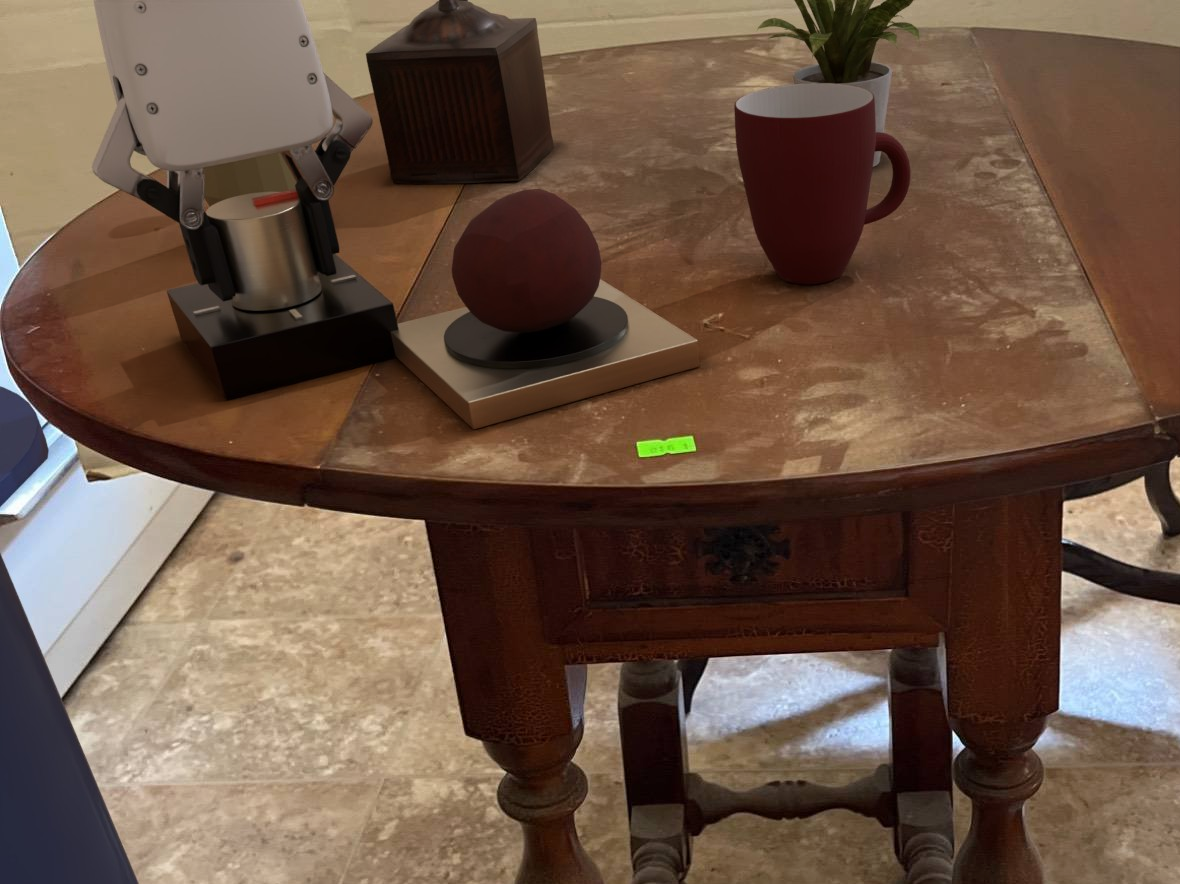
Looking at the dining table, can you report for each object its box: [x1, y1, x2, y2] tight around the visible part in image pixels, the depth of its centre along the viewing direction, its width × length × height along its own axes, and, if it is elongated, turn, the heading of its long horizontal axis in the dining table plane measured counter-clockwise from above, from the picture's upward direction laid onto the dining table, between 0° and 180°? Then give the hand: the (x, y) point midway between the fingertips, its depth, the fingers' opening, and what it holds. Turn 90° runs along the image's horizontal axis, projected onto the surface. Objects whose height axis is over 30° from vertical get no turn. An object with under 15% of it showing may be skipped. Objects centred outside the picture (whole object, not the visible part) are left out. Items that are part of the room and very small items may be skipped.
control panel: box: [166, 253, 399, 401], centre depth 84 cm, size 10×11×3 cm
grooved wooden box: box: [365, 0, 555, 185], centre depth 109 cm, size 16×11×18 cm
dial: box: [205, 189, 321, 311], centre depth 81 cm, size 5×5×5 cm
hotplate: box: [391, 278, 701, 430], centre depth 80 cm, size 13×13×2 cm
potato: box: [451, 188, 603, 333], centre depth 78 cm, size 7×8×7 cm
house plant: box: [756, 0, 921, 168], centre depth 103 cm, size 14×14×16 cm
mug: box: [733, 83, 911, 285], centre depth 87 cm, size 11×8×10 cm
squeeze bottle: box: [204, 144, 313, 208], centre depth 97 cm, size 8×8×18 cm
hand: (272, 278), depth 82 cm, fingers closed on dial, 5 cm apart
